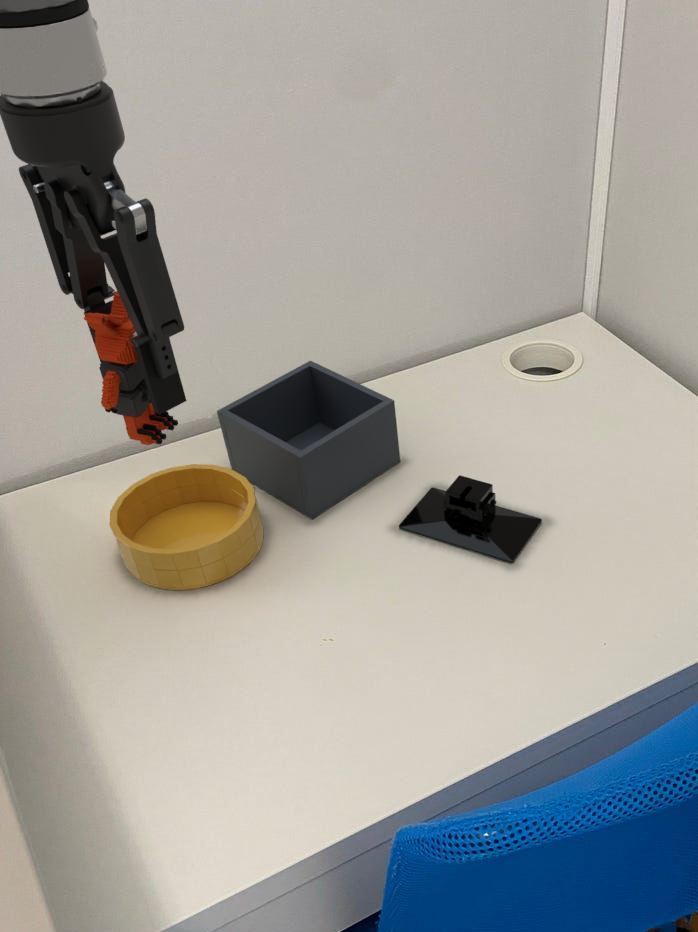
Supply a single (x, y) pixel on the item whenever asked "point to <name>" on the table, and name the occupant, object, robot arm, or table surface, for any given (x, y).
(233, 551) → the bowl
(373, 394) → the bin
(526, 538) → the build plate
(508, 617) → the table surface
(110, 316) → the toy animal
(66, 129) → the robot arm
